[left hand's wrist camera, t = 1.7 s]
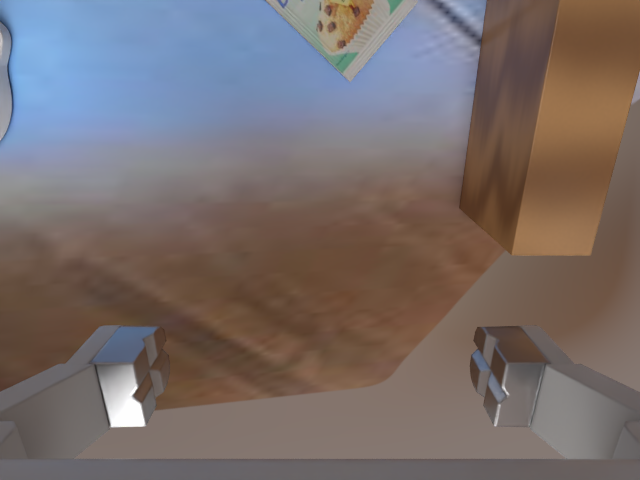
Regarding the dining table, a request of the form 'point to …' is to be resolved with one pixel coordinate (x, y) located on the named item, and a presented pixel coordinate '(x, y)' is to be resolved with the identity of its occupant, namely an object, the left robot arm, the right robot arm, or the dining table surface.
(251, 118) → the dining table surface
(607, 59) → the box
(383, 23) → the baking ingredient package
